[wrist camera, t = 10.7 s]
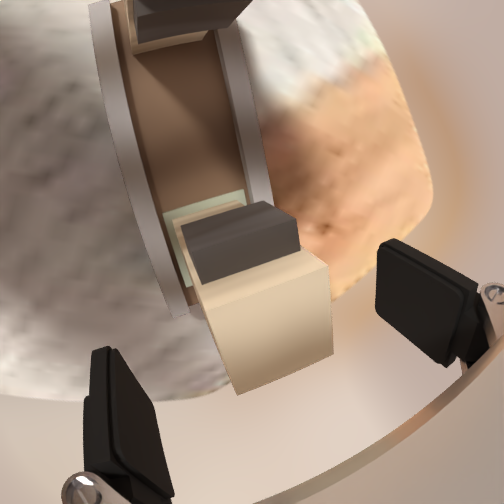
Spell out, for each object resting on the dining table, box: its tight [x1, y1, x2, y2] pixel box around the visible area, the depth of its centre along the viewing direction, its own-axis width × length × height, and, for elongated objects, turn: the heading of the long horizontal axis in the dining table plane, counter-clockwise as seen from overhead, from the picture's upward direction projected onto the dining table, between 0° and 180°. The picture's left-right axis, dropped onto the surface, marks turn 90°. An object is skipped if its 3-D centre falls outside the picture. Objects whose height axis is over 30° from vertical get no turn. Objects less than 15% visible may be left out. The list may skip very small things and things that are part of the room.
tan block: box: [172, 200, 334, 395], centre depth 14 cm, size 5×4×10 cm
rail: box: [88, 0, 274, 318], centre depth 13 cm, size 20×8×12 cm, turn 12°
